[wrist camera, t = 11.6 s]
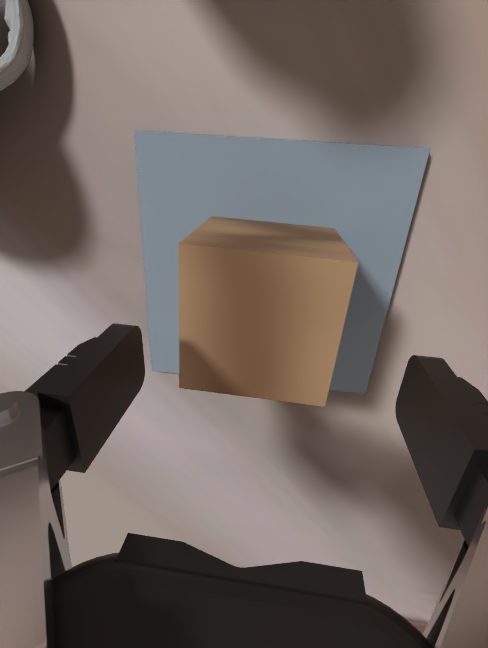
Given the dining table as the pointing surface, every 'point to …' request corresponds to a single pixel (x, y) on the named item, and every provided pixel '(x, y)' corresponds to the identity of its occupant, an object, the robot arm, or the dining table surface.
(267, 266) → the walnut block
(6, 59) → the ceramic mug
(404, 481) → the dining table surface
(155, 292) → the slate mat
